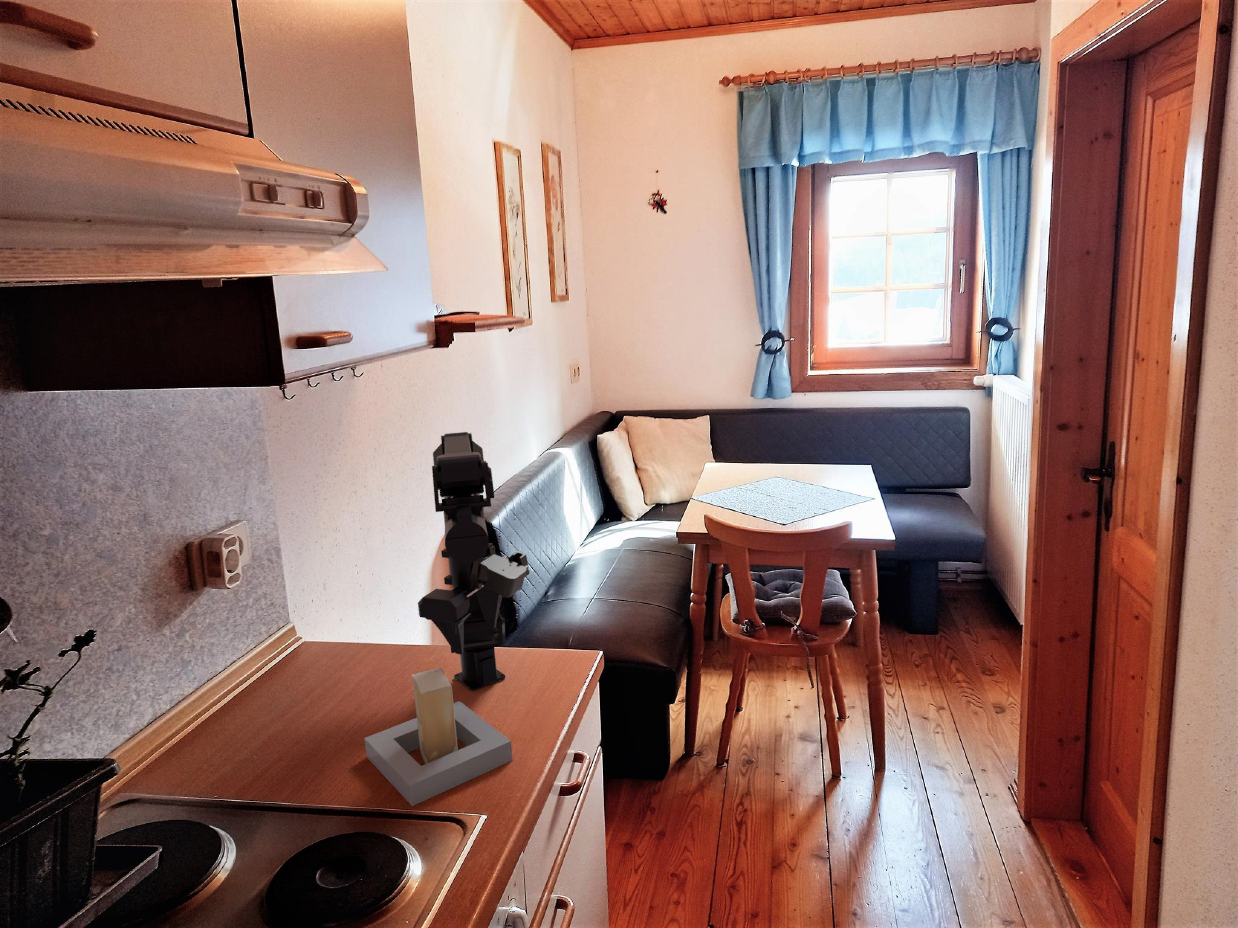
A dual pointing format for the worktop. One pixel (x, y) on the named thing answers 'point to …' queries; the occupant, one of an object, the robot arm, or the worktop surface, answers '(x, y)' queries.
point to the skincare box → (434, 714)
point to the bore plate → (445, 772)
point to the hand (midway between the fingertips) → (476, 640)
